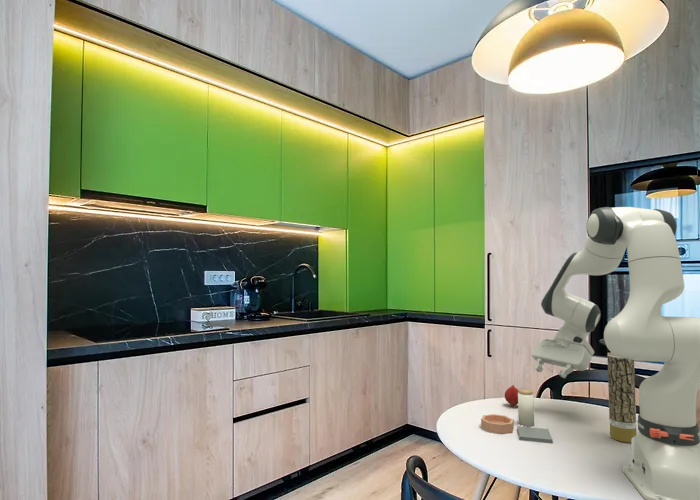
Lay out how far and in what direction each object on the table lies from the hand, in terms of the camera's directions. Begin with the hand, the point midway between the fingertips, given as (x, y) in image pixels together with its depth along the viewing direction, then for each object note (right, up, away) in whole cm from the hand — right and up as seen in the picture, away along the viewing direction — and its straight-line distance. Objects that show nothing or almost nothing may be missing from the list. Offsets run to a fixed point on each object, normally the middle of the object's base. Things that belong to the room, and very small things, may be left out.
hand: (549, 373), depth 149 cm
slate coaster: (-12, -14, -16) cm, 25 cm away
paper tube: (+13, -14, -19) cm, 27 cm away
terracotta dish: (-21, -15, -9) cm, 27 cm away
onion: (-8, -16, +13) cm, 22 cm away
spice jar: (-10, -15, -6) cm, 19 cm away
